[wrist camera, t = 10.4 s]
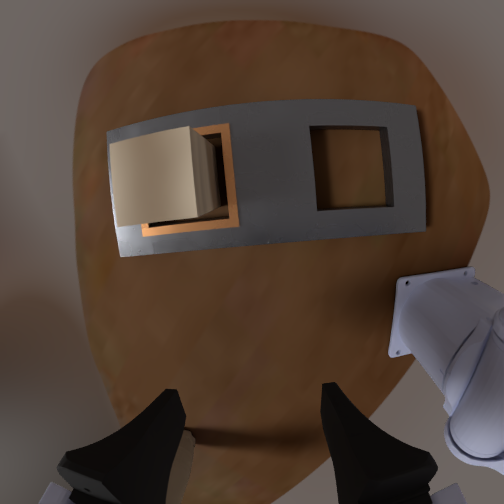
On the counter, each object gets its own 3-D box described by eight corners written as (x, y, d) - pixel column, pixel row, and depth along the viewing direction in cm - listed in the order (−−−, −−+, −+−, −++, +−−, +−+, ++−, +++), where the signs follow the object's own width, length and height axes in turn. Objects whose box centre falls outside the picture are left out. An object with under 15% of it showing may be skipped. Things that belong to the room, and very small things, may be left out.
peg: (215, 146, 19) (189, 126, 12) (220, 206, 20) (197, 217, 13) (158, 156, 20) (109, 144, 12) (164, 212, 21) (117, 227, 13)
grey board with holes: (406, 109, 18) (416, 105, 16) (416, 228, 20) (427, 231, 18) (115, 134, 19) (105, 131, 18) (128, 252, 21) (119, 257, 20)
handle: (161, 441, 27) (127, 535, 12) (165, 413, 26) (122, 522, 11) (198, 453, 27) (175, 550, 13) (207, 426, 26) (182, 541, 11)
